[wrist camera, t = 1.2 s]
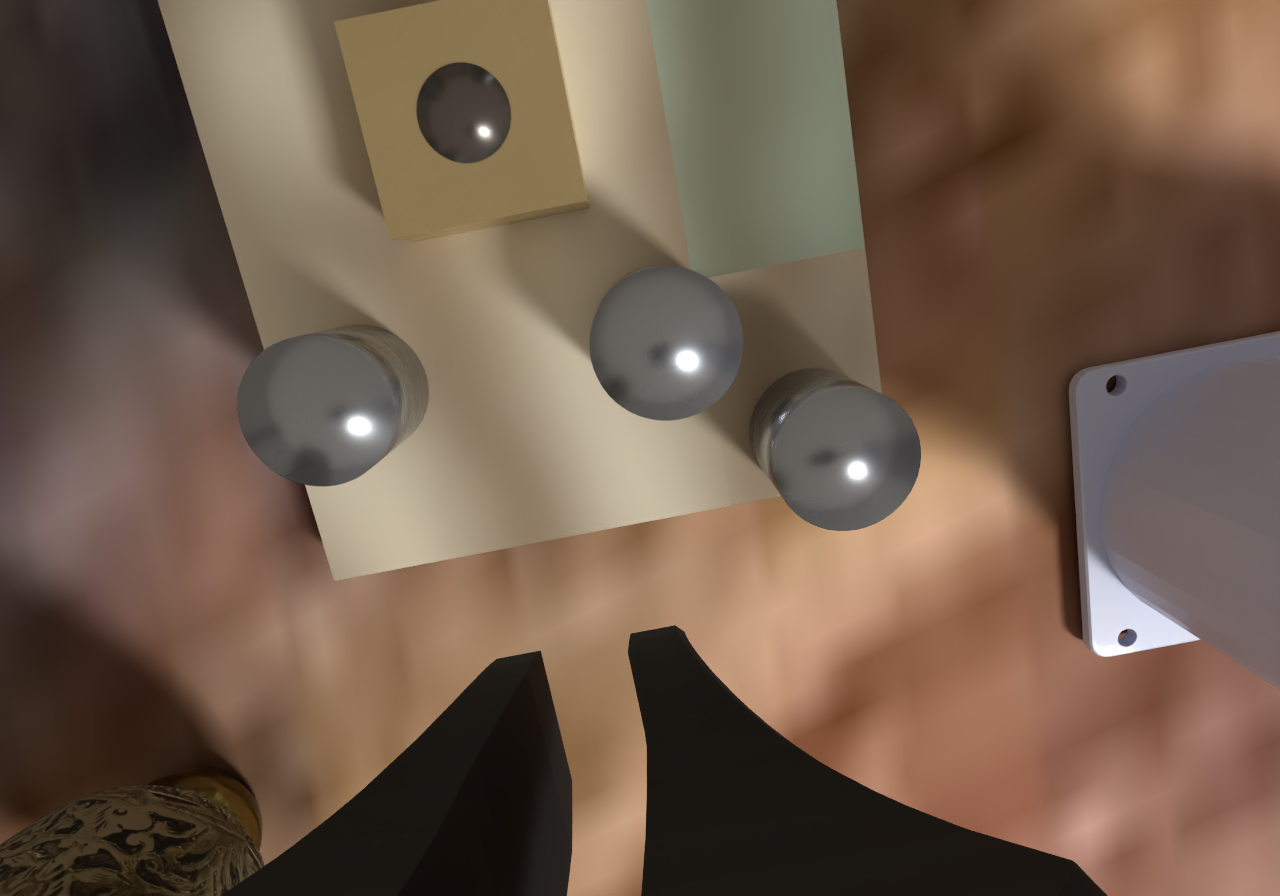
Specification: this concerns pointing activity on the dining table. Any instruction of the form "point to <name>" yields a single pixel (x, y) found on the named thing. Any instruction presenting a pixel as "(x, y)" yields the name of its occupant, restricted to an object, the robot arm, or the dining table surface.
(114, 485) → the dining table surface
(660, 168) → the birch board
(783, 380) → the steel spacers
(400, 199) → the brass nut
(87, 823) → the cup
